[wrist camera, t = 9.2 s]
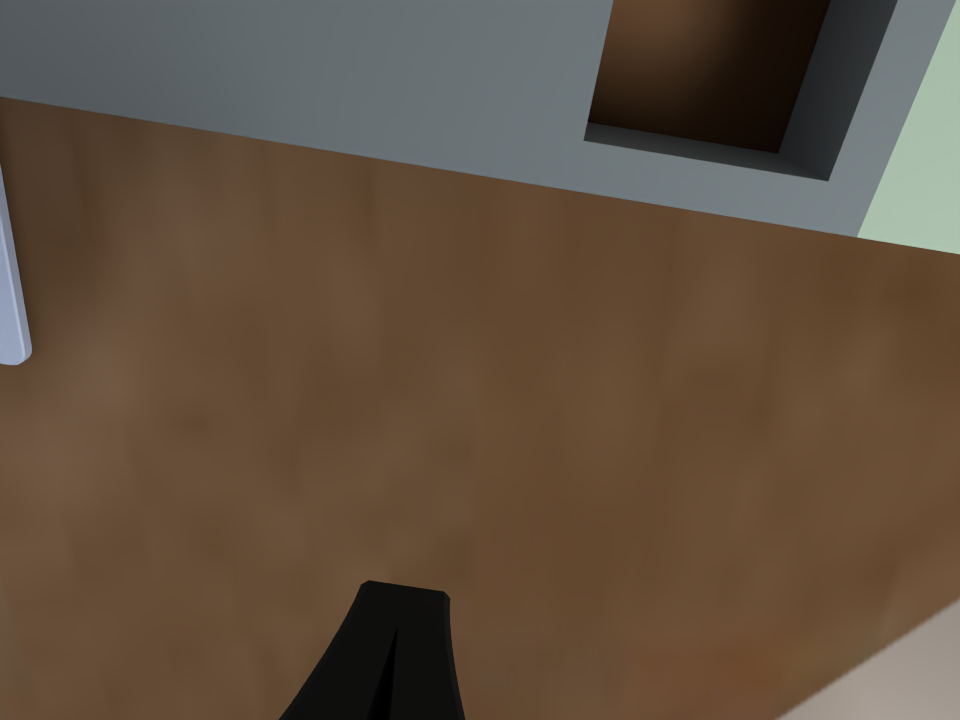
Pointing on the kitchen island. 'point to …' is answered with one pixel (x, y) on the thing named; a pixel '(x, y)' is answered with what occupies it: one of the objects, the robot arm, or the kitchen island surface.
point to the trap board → (520, 98)
